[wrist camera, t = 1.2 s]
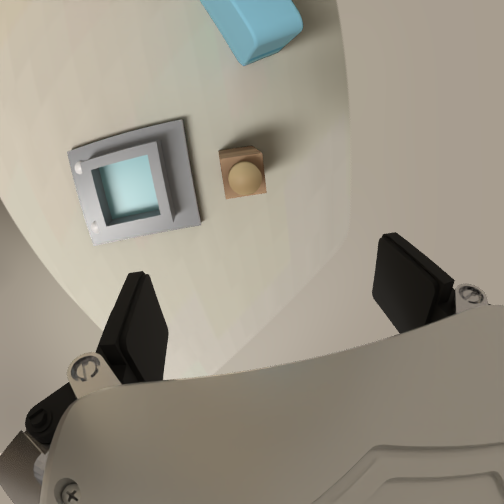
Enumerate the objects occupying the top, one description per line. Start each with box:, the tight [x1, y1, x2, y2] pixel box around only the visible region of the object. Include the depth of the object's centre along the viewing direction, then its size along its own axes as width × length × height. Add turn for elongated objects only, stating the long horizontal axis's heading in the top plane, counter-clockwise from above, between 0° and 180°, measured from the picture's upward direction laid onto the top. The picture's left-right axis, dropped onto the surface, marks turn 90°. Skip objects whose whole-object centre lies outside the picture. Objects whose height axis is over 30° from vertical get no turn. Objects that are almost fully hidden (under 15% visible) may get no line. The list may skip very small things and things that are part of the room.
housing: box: [67, 119, 201, 246], centre depth 30 cm, size 13×15×4 cm
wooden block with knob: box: [219, 146, 267, 199], centre depth 29 cm, size 4×4×8 cm
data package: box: [200, 0, 303, 66], centre depth 19 cm, size 12×4×12 cm, turn 27°
